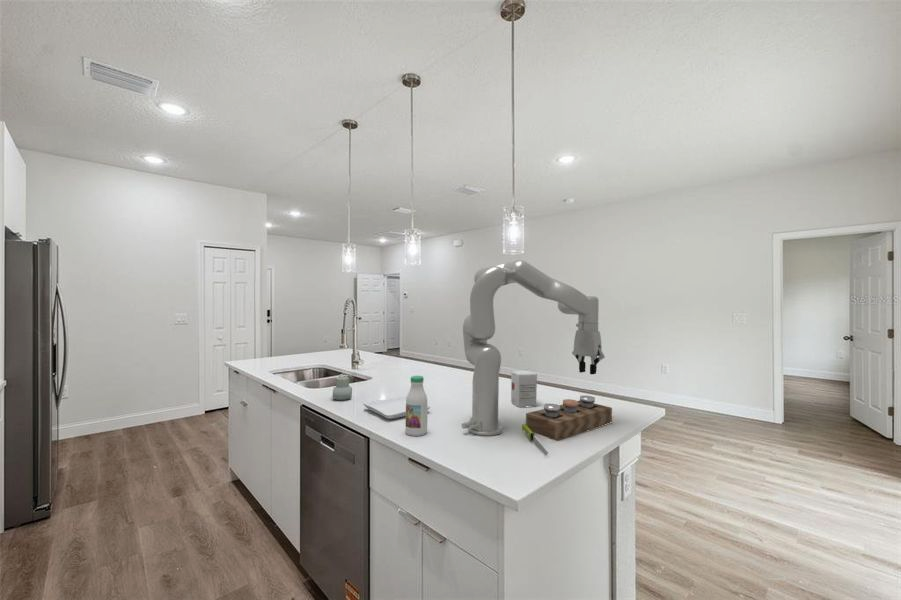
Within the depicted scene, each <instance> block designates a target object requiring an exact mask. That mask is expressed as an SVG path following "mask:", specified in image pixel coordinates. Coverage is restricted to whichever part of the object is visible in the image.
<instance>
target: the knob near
mask: <svg viewBox="0 0 901 600" xmlns="http://www.w3.org/2000/svg"><path fill="white" fill-rule="evenodd" d="M559 405H560V404H556V403H545V404H543V409H544V410H545V417H549V418H552V419H555V418H559V411H560V406H559Z"/></svg>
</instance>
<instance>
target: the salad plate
mask: <svg viewBox="0 0 901 600" xmlns="http://www.w3.org/2000/svg"><path fill="white" fill-rule="evenodd" d="M406 399H407V396H406V397H405V396H399V397H393V398H386V399H380V400H375V401H369V402H363V406H364V407H365V408H366V409H368V410H369V411H371V412H373V413H375V414H377V415H379V416H381V417H384V418H386V419H388V420H395V419H400V418H406ZM430 408H431V405H428V404H427V411H429V409H430Z"/></svg>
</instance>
